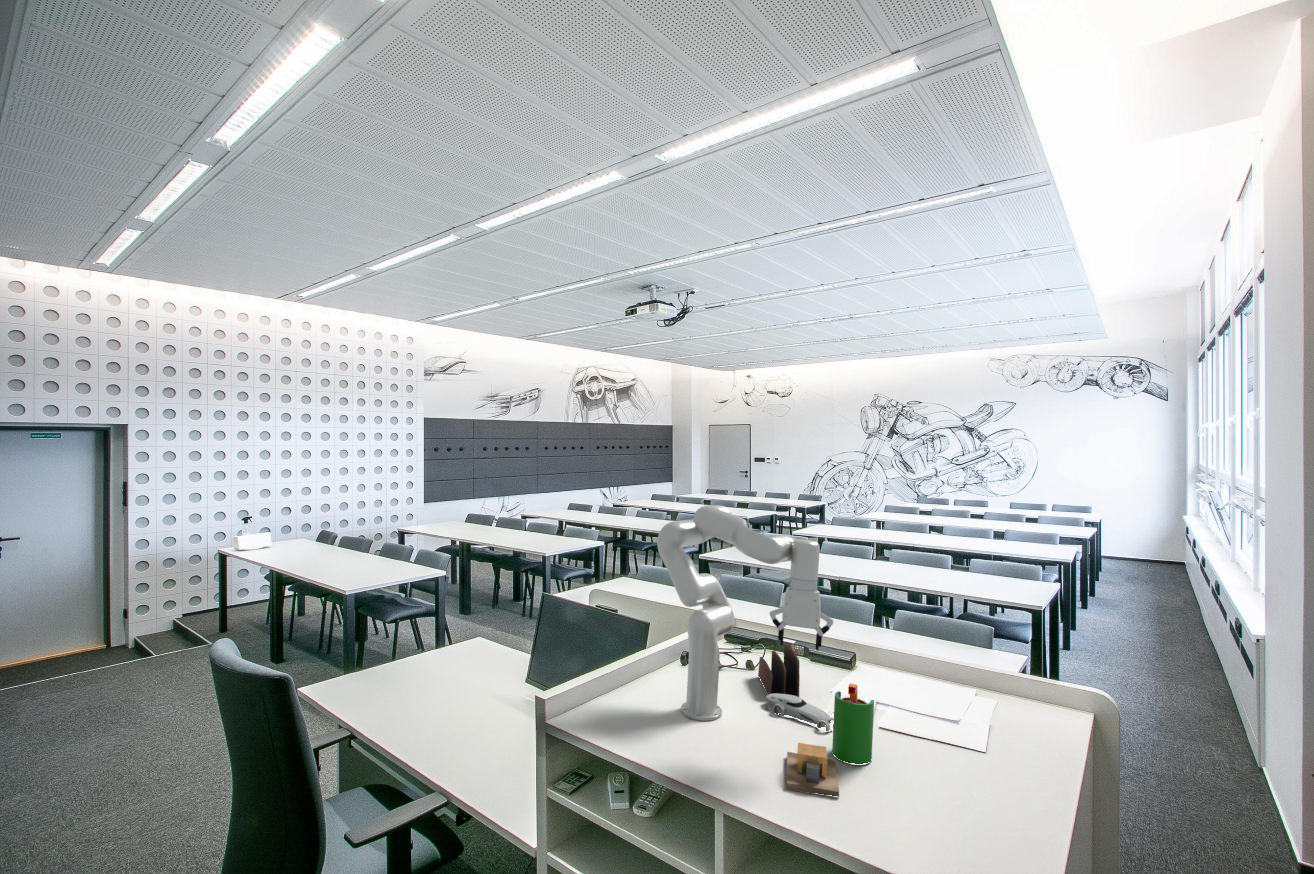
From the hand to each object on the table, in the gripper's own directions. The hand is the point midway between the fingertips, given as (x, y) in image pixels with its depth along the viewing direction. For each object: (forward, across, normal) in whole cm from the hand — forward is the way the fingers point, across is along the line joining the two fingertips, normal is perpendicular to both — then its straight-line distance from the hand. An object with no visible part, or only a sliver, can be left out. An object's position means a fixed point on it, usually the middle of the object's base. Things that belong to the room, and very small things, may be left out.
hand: (799, 646), depth 166 cm
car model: (+28, +2, +21) cm, 35 cm away
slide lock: (+25, +5, -15) cm, 30 cm away
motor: (+27, +16, -1) cm, 32 cm away
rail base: (+27, +5, -15) cm, 32 cm away
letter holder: (+28, -6, +42) cm, 51 cm away
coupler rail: (+26, +5, -15) cm, 30 cm away
